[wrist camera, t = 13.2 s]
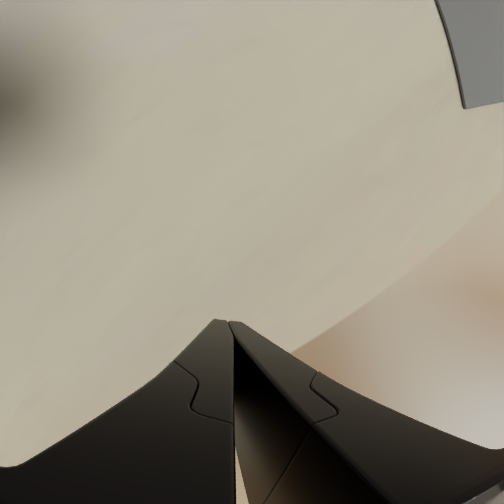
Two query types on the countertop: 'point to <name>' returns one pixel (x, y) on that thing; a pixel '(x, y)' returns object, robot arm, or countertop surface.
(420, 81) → the countertop surface
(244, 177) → the countertop surface
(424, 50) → the countertop surface
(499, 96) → the mat
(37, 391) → the countertop surface
